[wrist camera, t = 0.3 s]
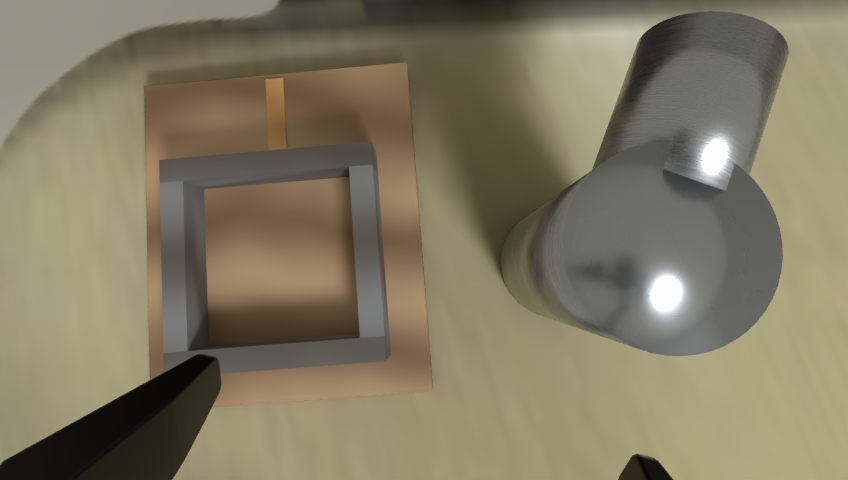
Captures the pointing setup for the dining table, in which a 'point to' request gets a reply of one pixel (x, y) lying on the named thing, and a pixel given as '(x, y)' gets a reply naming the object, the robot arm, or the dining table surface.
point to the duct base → (287, 234)
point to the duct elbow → (666, 199)
